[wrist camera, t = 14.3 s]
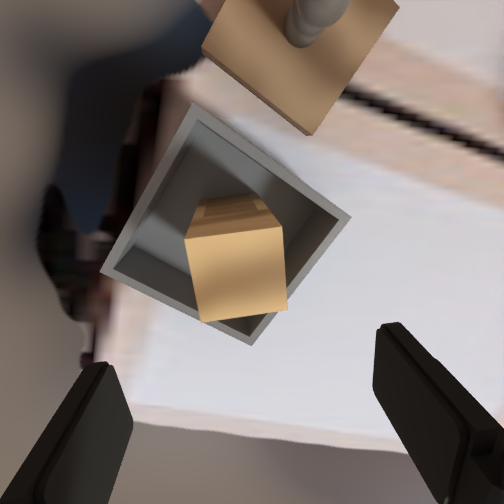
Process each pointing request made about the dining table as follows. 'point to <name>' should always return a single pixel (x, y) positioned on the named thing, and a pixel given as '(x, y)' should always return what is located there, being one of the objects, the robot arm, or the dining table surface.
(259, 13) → the stud block
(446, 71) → the dining table surface
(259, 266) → the oak strut
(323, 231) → the charcoal bin
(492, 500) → the robot arm
